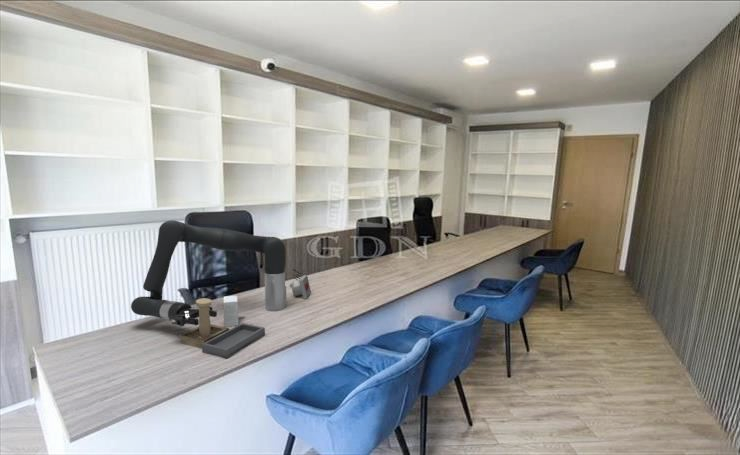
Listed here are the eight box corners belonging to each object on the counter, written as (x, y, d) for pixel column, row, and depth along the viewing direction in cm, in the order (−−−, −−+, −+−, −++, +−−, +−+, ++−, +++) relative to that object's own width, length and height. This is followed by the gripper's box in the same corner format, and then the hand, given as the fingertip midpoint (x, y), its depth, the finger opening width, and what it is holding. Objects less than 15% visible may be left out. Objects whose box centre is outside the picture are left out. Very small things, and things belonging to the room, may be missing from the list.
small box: (224, 319, 153) (223, 296, 151) (238, 318, 155) (237, 294, 153) (223, 327, 145) (222, 302, 144) (238, 325, 147) (237, 301, 146)
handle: (207, 334, 138) (206, 297, 136) (215, 339, 134) (214, 301, 132) (195, 338, 134) (193, 300, 132) (202, 343, 130) (200, 304, 128)
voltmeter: (316, 297, 183) (316, 278, 182) (295, 301, 177) (295, 282, 176) (298, 284, 205) (298, 267, 204) (279, 287, 199) (278, 269, 198)
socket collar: (206, 330, 142) (205, 323, 142) (229, 335, 137) (229, 328, 137) (180, 342, 131) (179, 335, 130) (204, 349, 126) (204, 341, 126)
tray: (242, 330, 143) (242, 322, 142) (264, 334, 139) (264, 327, 138) (202, 352, 124) (201, 344, 124) (226, 358, 120) (226, 350, 120)
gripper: (158, 308, 131) (190, 315, 125) (190, 296, 145) (221, 302, 139) (159, 327, 133) (191, 335, 126) (191, 314, 146) (222, 320, 140)
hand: (207, 318), depth 133 cm, fingers open, 8 cm apart
